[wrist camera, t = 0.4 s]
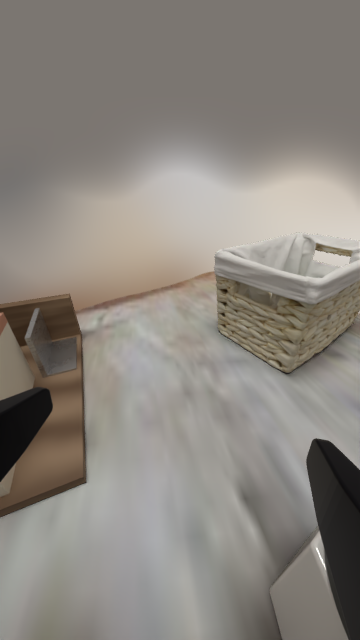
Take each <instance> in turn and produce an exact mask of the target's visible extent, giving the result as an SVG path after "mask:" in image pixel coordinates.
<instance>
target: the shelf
mask: <svg viewBox="0 0 360 640" xmlns="http://www.w3.org/2000/svg"><path fill="white" fill-rule="evenodd" d="M36 308H40V311H41V313H42V316H43V318H44V321H45V323H46V326H47V329H48V331H49V334H50V336H51V339H52V341H53V342H54V341H59V340H63V339H68V338H73V337H77V370H73V371H69V372H65V373H61V374H57V375H53V376H49V377H45V378H43V377H42V375H41V373H40V371H39V369H38V366H37V364H36V362H35V360H34V358H33V356H32V354H31V351H30V349H29V347H28V345H27V343H26V341H25V339H24V338H25V336H26V333H27V330H28V327H29V324H30V321H31V318H32V316H33V313H34V310H35V309H36ZM2 312H3V313H4V315H5V317H6V319H7V321H8V324H9V326H10V328H11V330H12V332H13V334H14V336H15V338H16V340H17V342H18V344H19V346H20V348H21V350H22V352H23V354H24V356H25V358H26V360H27V362H28V364H29V366H30V368H31V370H32V373H33V375H34V377H35V380H34V385H33V388H35V387H43V388H48V389H49V390H50V393H51V398H52V403H53V410H52V412H51V414H50V415H49V417H48V418H47V420H46V421H45V423H44V424H43V426H42V427H41V428H40V430H39V431H38V433H37V434H36V436H35V437H34V439H33V440H32V442H31V443H30V445H29V446H28V448H27V449H26V450H25V452H24V453H23V454H22V456H21V457H20V458H19V460H18V461H17V462H16V466H15V470H14V475H13V479H12V484H11V488H10V493H9V494H7V495H4V496H2V497H0V517H1V516H4V515H6V514H9V513H11V512H14V511H16V510H19V509H21V508H24V507H26V506H29V505H31V504H34V503H36V502H39V501H41V500H43V499H46V498H48V497H51V496H53V495H56V494H58V493H61V492H63V491H66V490H68V489H71V488H73V487H76V486H78V485H81V484H83V483H85V482H86V465H85V430H84V396H83V362H82V334H81V330H80V327H79V324H78V320H77V317H76V314H75V310H74V307H73V304H72V301H71V297H70V294H65V295H58V296H52V297H45V298H39V299H32V300H26V301H19V302H12V303H5V304H0V313H2Z"/></svg>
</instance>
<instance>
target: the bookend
mask: <svg viewBox="0 0 360 640" xmlns="http://www.w3.org/2000/svg"><path fill="white" fill-rule="evenodd" d="M24 339H25V341H26V343H27V345H28V347H29V349H30V351H31V354H32V356H33V358H34V360H35V362H36V364H37V366H38V369H39V371H40V373H41V375H42V377H43V378H45V377H49V376H53V375H57V374H61V373H65V372H69V371H73V370H77V337H73V338H68V339H63V340H59V341H54V342H53V341H52V339H51V336H50V334H49V331H48V329H47V326H46V323H45V321H44V318H43V316H42V313H41V311H40V308H36V309H35V310H34V313H33V316H32V318H31V321H30V324H29V327H28V330H27V333H26V336H25V338H24Z"/></svg>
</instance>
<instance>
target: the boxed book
mask: <svg viewBox="0 0 360 640" xmlns="http://www.w3.org/2000/svg"><path fill="white" fill-rule="evenodd" d="M34 380H35V377H34V375H33V373H32V370H31V368H30V366H29V364H28V362H27V360H26V358H25V356H24V354H23V352H22V350H21V348H20V346H19V344H18V342H17V340H16V338H15V336H14V334H13V332H12V330H11V328H10V326H9V324H8V321H7V319H6V317H5V315H4V313H3V312H2V313H0V400H3V399H6V398H8V397H11V396H14V395H16V394H19V393H22V392H24V391H27V390H30V389H32V388H33V385H34ZM15 466H16V463H15V465H14V466H13V467H12V468H11V470H10V471H9V472H8V473H7V475H6V476H5V477H4V478H3V480H2V481H1V482H0V497H2V496H4V495H7V494H9V493H10V488H11V484H12V479H13V475H14V470H15Z"/></svg>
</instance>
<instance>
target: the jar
mask: <svg viewBox="0 0 360 640" xmlns="http://www.w3.org/2000/svg"><path fill="white" fill-rule="evenodd" d="M270 595H271V599H272V603H273V607H274V611H275V614H276V618H277V622H278V626H279V630H280V634H281V638H282V640H350V636H349V633H348V629H347V626H346V622H345V619H344V615H343V612H342V608H341V605H340V601H339V598H338V595H337V591H336V588H335V584H334V581H333V577H332V574H331V570H330V567H329V563H328V560H327V556H326V553H325V549H324V546H323V542H322V539H321V535H320V531H319V527H318V526H317V527H316V528H315V530H314V531H313V532H312V533H311V534H310V535H309V537H308V538H307V539H306V540H305V542H304V543H303V544H302V546H301V547H300V548H299V550H298V551H297V552H296V554H295V555H294V556H293V558H292V559H291V560H290V562H289V563H288V564H287V566H286V567H285V568H284V570H283V571H282V572H281V574H280V575H279V576H278V578H277V579H276V580H275V582H274V583H273V584H272V586H271V587H270Z"/></svg>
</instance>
